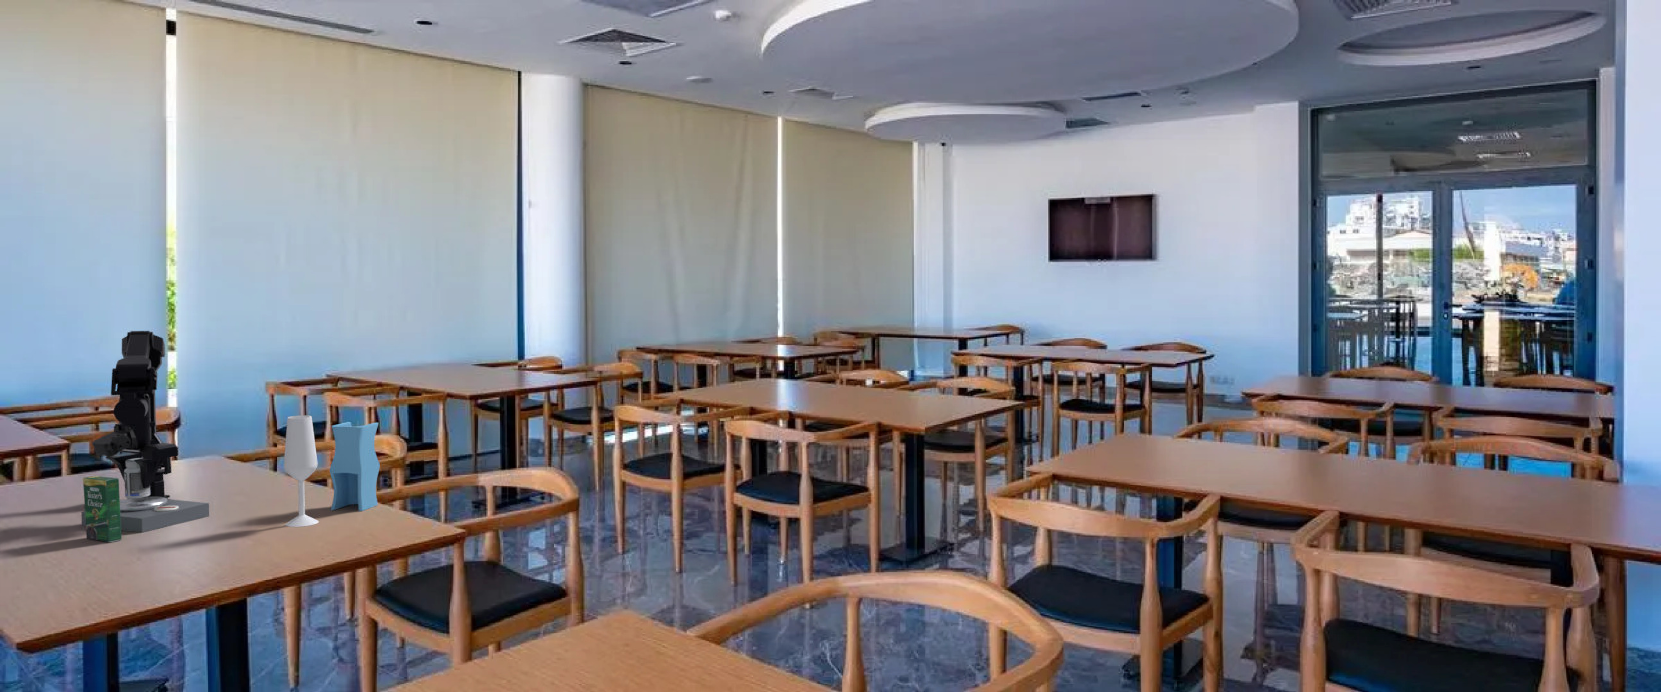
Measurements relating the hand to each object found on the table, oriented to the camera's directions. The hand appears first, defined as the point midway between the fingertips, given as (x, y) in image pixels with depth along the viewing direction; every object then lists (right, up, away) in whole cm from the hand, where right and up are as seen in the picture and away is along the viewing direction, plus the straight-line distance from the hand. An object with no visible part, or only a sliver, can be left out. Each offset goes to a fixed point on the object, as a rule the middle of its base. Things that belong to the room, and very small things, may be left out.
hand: (137, 487), depth 225 cm
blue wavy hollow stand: (+42, -7, +15) cm, 45 cm away
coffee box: (+4, -9, -17) cm, 19 cm away
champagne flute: (+38, -8, -1) cm, 39 cm away
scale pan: (0, -4, 0) cm, 4 cm away
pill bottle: (0, -2, 0) cm, 2 cm away
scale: (+2, -8, 0) cm, 8 cm away
